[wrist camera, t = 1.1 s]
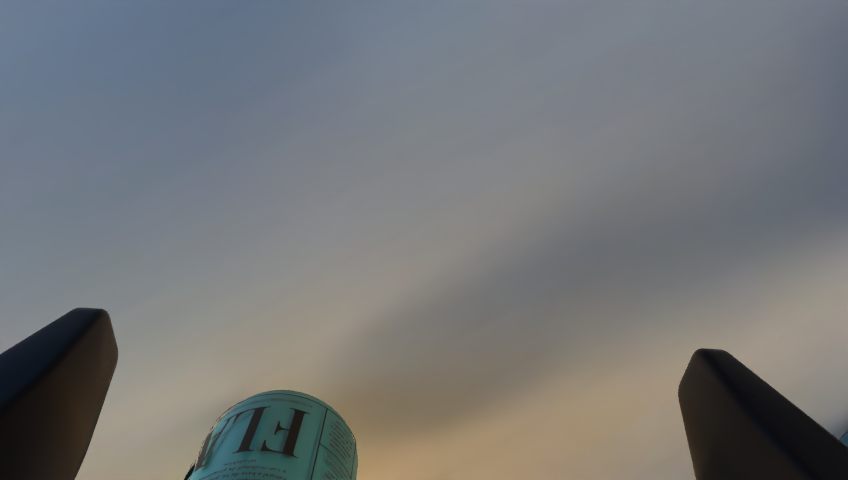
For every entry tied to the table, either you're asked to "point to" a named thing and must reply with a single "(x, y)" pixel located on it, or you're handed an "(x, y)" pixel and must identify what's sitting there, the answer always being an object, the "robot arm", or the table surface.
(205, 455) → the beverage bottle
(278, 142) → the table surface
